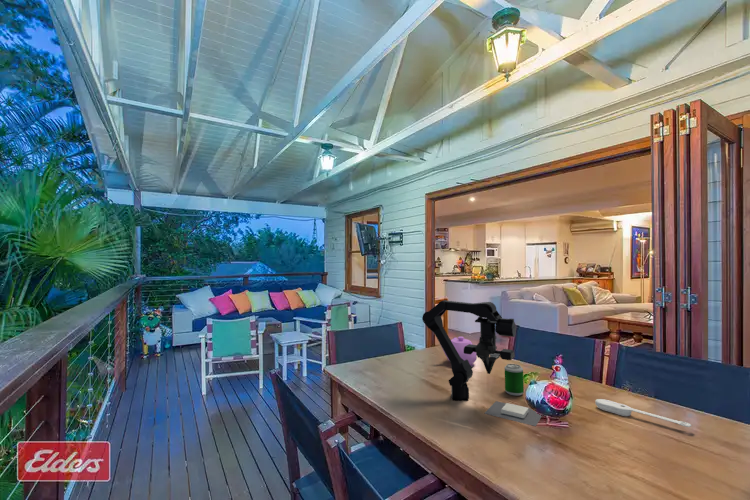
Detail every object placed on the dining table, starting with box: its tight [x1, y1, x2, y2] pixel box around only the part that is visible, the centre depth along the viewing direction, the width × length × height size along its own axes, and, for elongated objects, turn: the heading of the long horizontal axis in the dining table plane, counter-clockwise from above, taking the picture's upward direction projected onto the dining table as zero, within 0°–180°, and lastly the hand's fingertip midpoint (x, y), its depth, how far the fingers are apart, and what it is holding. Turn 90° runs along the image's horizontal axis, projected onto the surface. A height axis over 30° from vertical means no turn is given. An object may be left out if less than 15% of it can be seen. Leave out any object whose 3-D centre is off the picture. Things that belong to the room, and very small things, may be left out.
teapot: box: [440, 335, 478, 367], centre depth 197 cm, size 20×20×15 cm
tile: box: [501, 402, 530, 418], centre depth 132 cm, size 2×7×8 cm
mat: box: [484, 400, 543, 427], centre depth 132 cm, size 18×14×1 cm
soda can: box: [504, 363, 525, 397], centre depth 151 cm, size 8×8×12 cm
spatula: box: [594, 398, 692, 428], centre depth 126 cm, size 28×6×3 cm, turn 38°
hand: (488, 373), depth 140 cm, fingers closed
